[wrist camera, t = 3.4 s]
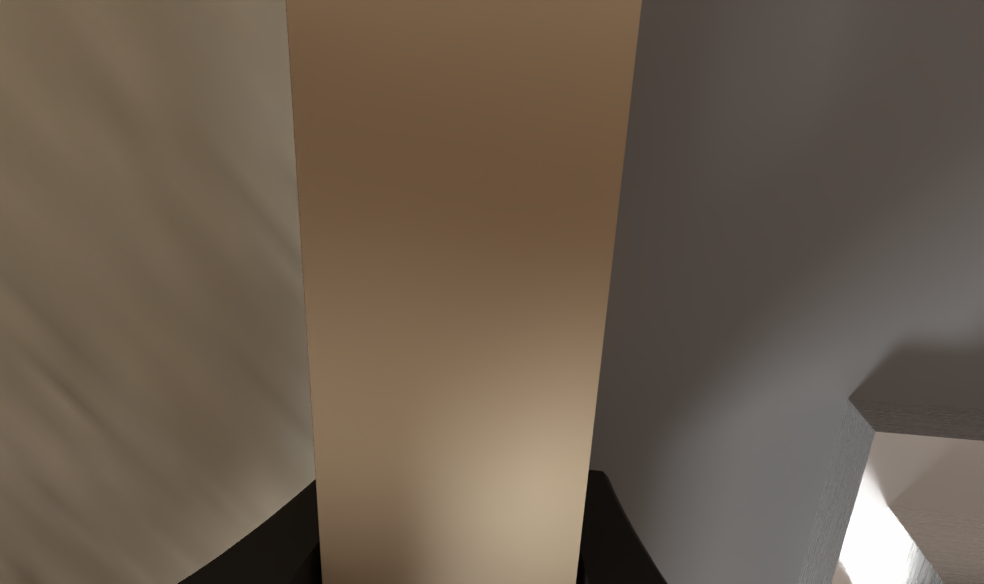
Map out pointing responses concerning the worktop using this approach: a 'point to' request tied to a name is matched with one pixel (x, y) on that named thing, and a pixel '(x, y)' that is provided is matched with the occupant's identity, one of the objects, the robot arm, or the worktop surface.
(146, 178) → the worktop surface
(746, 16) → the charcoal board
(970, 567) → the steel ridge
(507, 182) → the maple batten
